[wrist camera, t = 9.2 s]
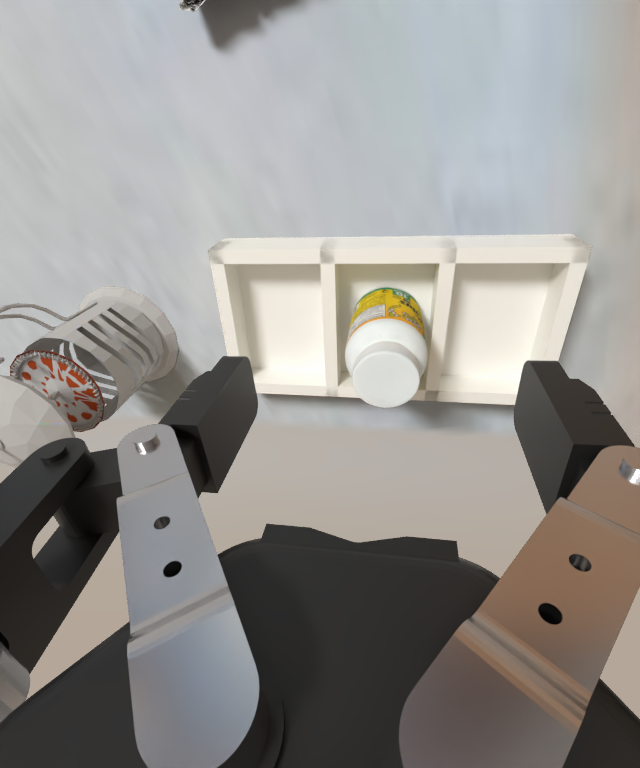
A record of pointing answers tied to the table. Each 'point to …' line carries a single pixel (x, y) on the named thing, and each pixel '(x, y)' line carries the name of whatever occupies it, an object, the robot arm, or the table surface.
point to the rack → (419, 278)
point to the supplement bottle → (386, 347)
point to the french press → (81, 369)
